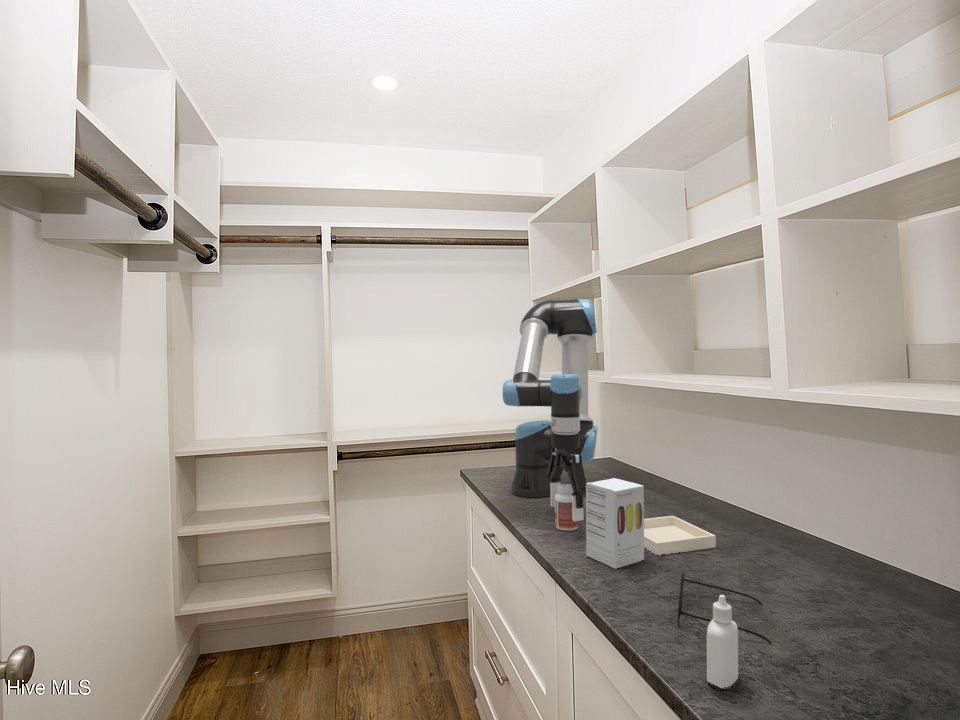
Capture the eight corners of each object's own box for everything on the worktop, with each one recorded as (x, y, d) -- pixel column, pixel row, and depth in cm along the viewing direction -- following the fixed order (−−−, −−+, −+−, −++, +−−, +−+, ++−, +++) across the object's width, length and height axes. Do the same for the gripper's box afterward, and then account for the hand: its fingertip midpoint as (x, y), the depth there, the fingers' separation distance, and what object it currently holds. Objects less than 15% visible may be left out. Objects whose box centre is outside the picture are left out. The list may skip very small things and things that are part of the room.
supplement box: (615, 570, 113) (614, 491, 113) (584, 556, 121) (584, 482, 121) (645, 560, 118) (645, 484, 118) (614, 547, 126) (614, 476, 126)
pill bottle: (583, 528, 140) (583, 486, 139) (566, 533, 136) (565, 490, 136) (567, 522, 145) (566, 481, 145) (550, 526, 141) (549, 485, 141)
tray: (619, 532, 136) (619, 521, 136) (673, 526, 140) (673, 515, 140) (656, 555, 120) (656, 543, 120) (715, 547, 125) (715, 535, 125)
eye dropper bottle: (695, 674, 77) (695, 591, 76) (729, 667, 78) (728, 586, 78) (716, 693, 72) (715, 605, 72) (751, 686, 74) (750, 600, 73)
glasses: (679, 594, 103) (682, 569, 102) (765, 617, 97) (769, 590, 97) (676, 630, 89) (679, 601, 89) (776, 659, 84) (780, 628, 83)
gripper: (534, 427, 151) (535, 501, 151) (573, 440, 127) (574, 528, 127) (558, 426, 153) (559, 499, 153) (601, 438, 129) (602, 525, 129)
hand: (566, 513), depth 140 cm, fingers open, 13 cm apart
